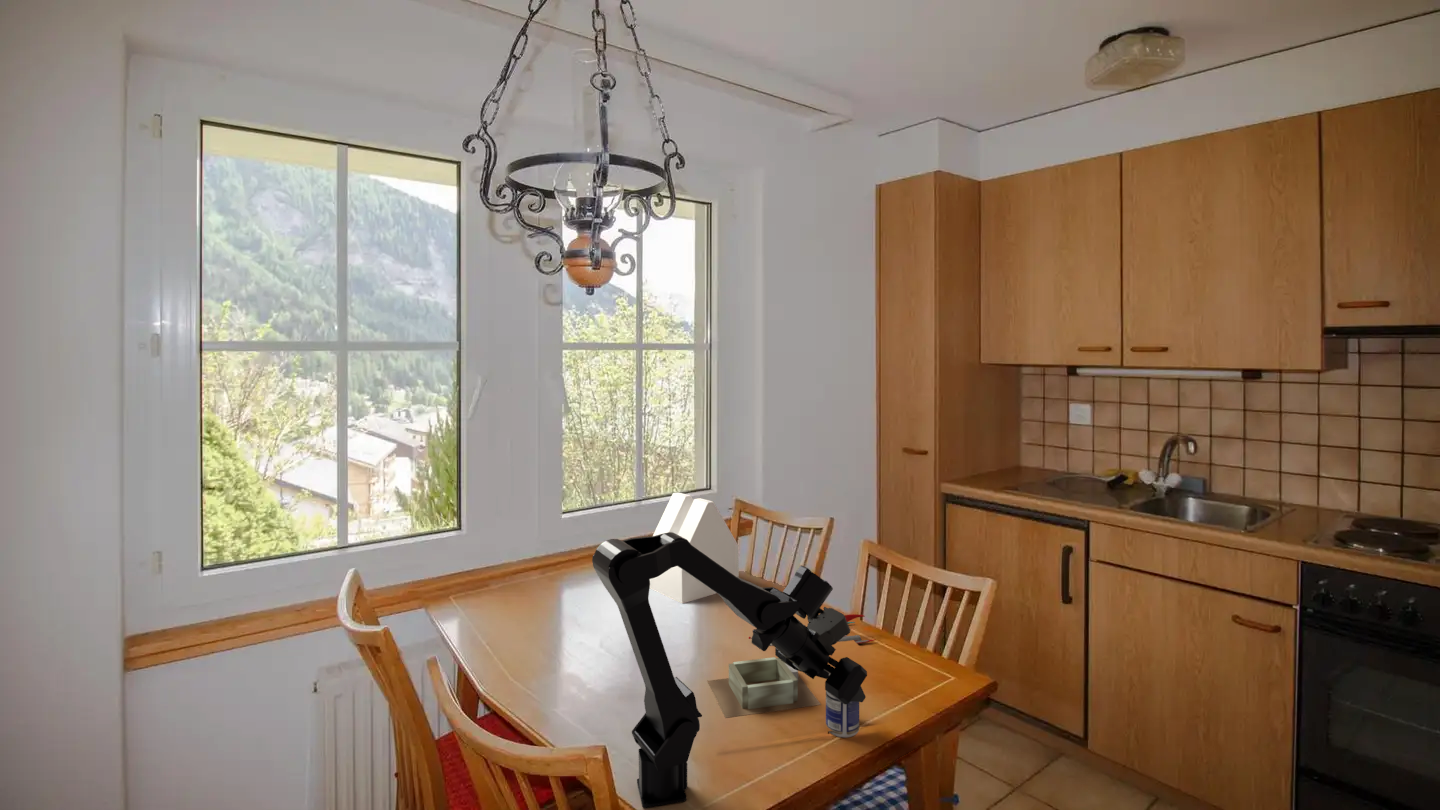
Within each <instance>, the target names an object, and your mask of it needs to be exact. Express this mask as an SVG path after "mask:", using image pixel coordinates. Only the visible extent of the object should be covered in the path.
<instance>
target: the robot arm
mask: <svg viewBox="0 0 1440 810" xmlns="http://www.w3.org/2000/svg"><path fill="white" fill-rule="evenodd" d="M591 562H592V568H593V569H594V571H595V573H596V574H597V576H598V578H599V580H600V581H601V584H602V585H603V587H604V588H605V590H606V591H607V593H609V595H610V596H611V598H612V599H613V601H614V602H615V604H616V605H617V608H618V610H619V614H620V617H621V619H622V622H623V625H624V628H625V631H626V634H627V637H628V639H629V642H630V646H631V648H632V651H633V654H634V657H635V660H636V663H637V666H638V668H639V672H640V674H641V678H642V680H643V684H644V686H645V690H644V698H643V703H644V709H645V710H644V711H645V713H644V715H642V717H641V718H640V720H639V721H638V723H637V724H636V725H635V726H634V727H633V729H632V730H631V735H632V738H633V740H634V742H635V743H636V745H638V747H640V748H639V749H638V778H637V779H636V784H637V789H638V794H639V798H640V799H639V800H640V803H641V807H642V808H647V809H648V808H651V807H659V806H665V805H669V804H676V803H683V802H686V801H687V793H686V790H687V789H688V760H689V758H690V757H689V756H690V754H691V750H692V747H693V745H694V741H695V738H696V736H697V735H698V732H700V731H701V730H700V729H701V728H700V727H701V723H700V719H699V718H701V717H702V716H703V714H702V713H701V712H700V711H699V709H698V705H697V700H696V696H695V692H693V690H691V689H690V688H689V686H687V685H686V684H685V683H684V682H683V681H681V679H680V678H678V676H674V673H673V671H672V667H671V664H670V661H669V658H668V655H667V652H666V649H665V646H664V643H663V640H662V638H661V635H660V631H659V629H658V626H657V622H656V620H655V616H654V612H653V609H652V608H651V605H650V601H649V595H650V590H651V589H650V579H652V578H655V577H658V576H660V575H661V574H663V573H664V572H666V571H667V570H669V569H670V568H672V567H675V566H678V567H679V568H681V569H682V570H684V571H685V572H687V573H688V574H690V575H691V576H693V577H694V578H695V579H697V580H698V581H700V582H701V583H703V584H704V585H706V586H707V587H709V588H710V589H712V590H713V591H715V592H716V594H717V595H718V596H719V597H720V598H721V599H722V600H723V602H724V603H725V604H726V606H727V607H728V608H729V609H730V610H731V611H732V612H733V613H734V614H735V615H736V616H737V617H738V618H740V619H742V620H743V621H745V622H746V623H748V624H750V626H752V627H754V628H755V629H753V630H752V636H751V638H752V639H751V644H752V645H754V646H755V647H756V648H758V649H759V650H761V651H762V652H766V651H767V650H768V648H769V647H770V646H769V645H770V644H772V645H773V646H772V647H774V649H775V650H774V651H775V652H774V653H775V656H776V658H779V659H780V660H781V661H783V662H784V663H786V664H787V665H789V666H790V667H792V668H793V669H795V670H797V671H798V672H801V673H803V674H805V675H806V676H808V677H809V678H810V679H812V680H814V679H815V677H818V678H821V679H826V680H824V681H825V682H824V690H825V692H826V691H827V692H828V693H830V694H831V695H832V696H833V697H835V698H836V699H838V700H839V701H840V702H842V703H843V704H848V703H850V701H853V702H859V703H863V702H864V701H865V700H866V697H867V696H866V695H865V692H864V689H863V688H862V684H864V683H863V682H864V681H865V679H866V678H867V676H868V671H867V670H866V668H864V667H863V666H862V665H861V664H860V663H857V662H856V661H855V660H853V659H851V658H849V657H848V656H845V657H842V658H840V659H839V660H836V659H835V658H833V657H832V656H833V654H835V651H836V650H837V649H836V648H835V647H834V645H836V644H837V643H838V641H839V640H840V639H842V638H843V637H844V636H845V635H846V636H849V634H850V633H851V628H850V626H849V624H848V623H847V621H846V618H845V616H844V615H845V614H844V613H841V612H840V611H838V610H836V609H834V608H832V607H827V606H824V607H823V609H822V608H821V607H822V605H823V604H824V603H825V601H826V600H827V598H828V597H829V595H830V594H831V593H832V591H833V589H834V588H833V586H832V585H831V584H830V583H829V582H828V580H824V579H822V578H821V577H820V576H819V575H817V574H816V573H814V572H812V570H811V569H810V568H808V567H806V566H804V565H802V564H801V565H799V567H798V568H797V570H796V571H795V573H794V575H793V577H792V578H791V580H790V581H789V583H788V584H787V585H786V587H785V588H784V589H783V591H781V590H779V589H778V588H775V587H773V586H769V587H761V586H759V585H757V584H755V583H754V582H750V581H748V580H745V579H744V578H741V577H739V578H738V577H736V576H734V575H733V574H731V573H730V572H729V571H727V570H726V569H724V568H723V567H722V566H720V565H719V564H717V563H716V562H715V561H713V560H712V559H710V558H709V557H707V556H706V555H705V554H703V553H702V552H700V551H699V550H698V549H696V548H695V547H693V546H692V545H691V544H690V543H689V541H688V540H687V539H685V538H683V537H681V536H679V535H677V534H675V533H673V532H668V533H664V534H660V535H656V536H653V535H652V536H651V535H650V536H642V537H641V536H640V537H631V538H627V539H623V540H622V539H618V538H610V539H607V540H605V541H603V542H602V543H600V544H599V546H598V547H597V548H596V549H595V551H594V553H593V555H592V559H591ZM795 615H797V616H798V617H800V618H801V619H803V620H804V619H807V626H806V625H805V624H803V622H801V621H800V620H799V619H798V618H797V617H796V616H795ZM806 617H807V618H806ZM829 674H830V675H829Z"/></svg>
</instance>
